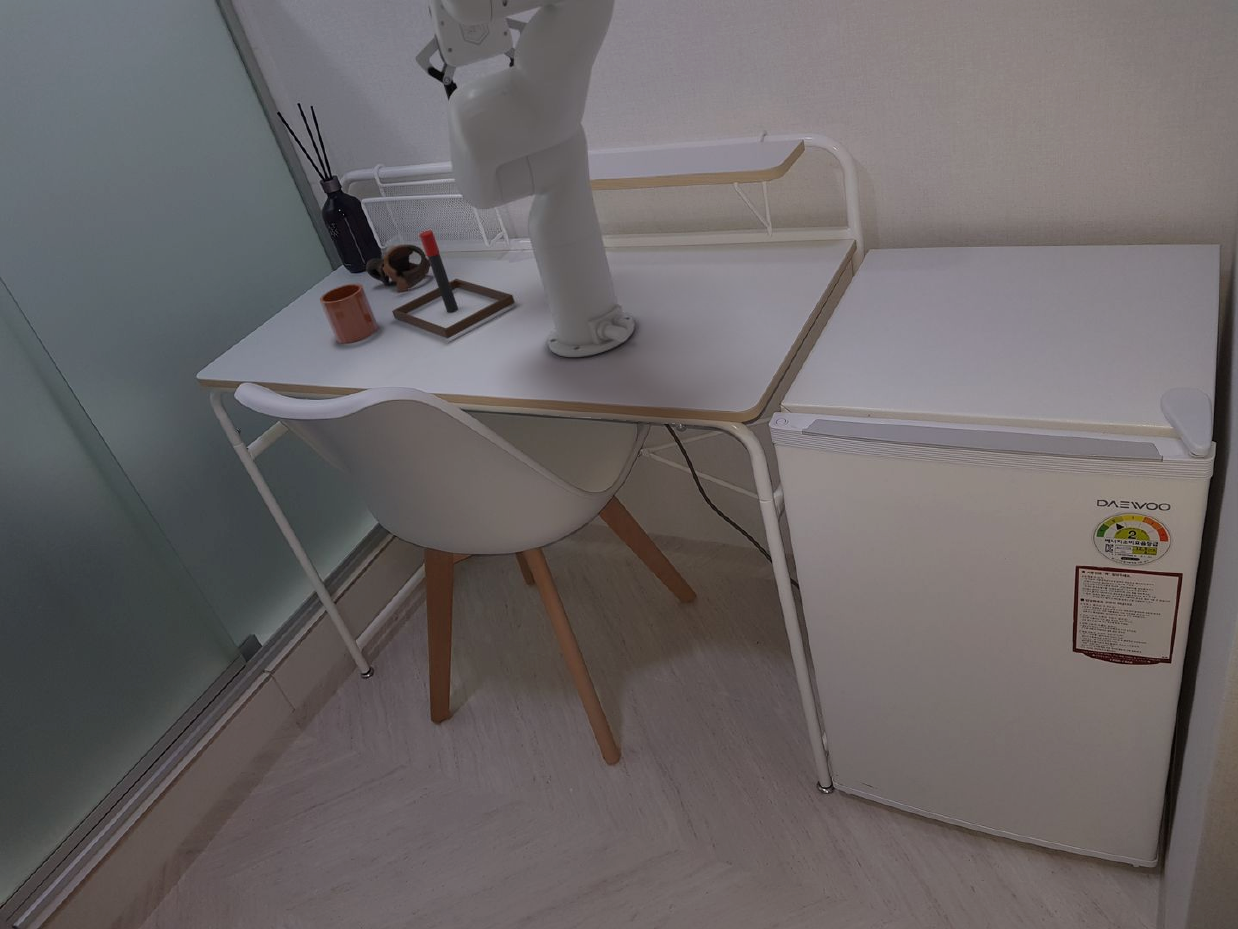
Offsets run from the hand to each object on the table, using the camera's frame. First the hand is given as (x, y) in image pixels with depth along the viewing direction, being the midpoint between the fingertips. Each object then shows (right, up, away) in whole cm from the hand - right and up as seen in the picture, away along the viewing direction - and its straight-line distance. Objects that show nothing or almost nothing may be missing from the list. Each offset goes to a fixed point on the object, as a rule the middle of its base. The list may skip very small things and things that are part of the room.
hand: (490, 100), depth 135 cm
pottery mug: (-20, -21, +33) cm, 44 cm away
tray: (-8, -29, +16) cm, 34 cm away
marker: (-8, -28, +16) cm, 33 cm away
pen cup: (-24, -32, +17) cm, 44 cm away
